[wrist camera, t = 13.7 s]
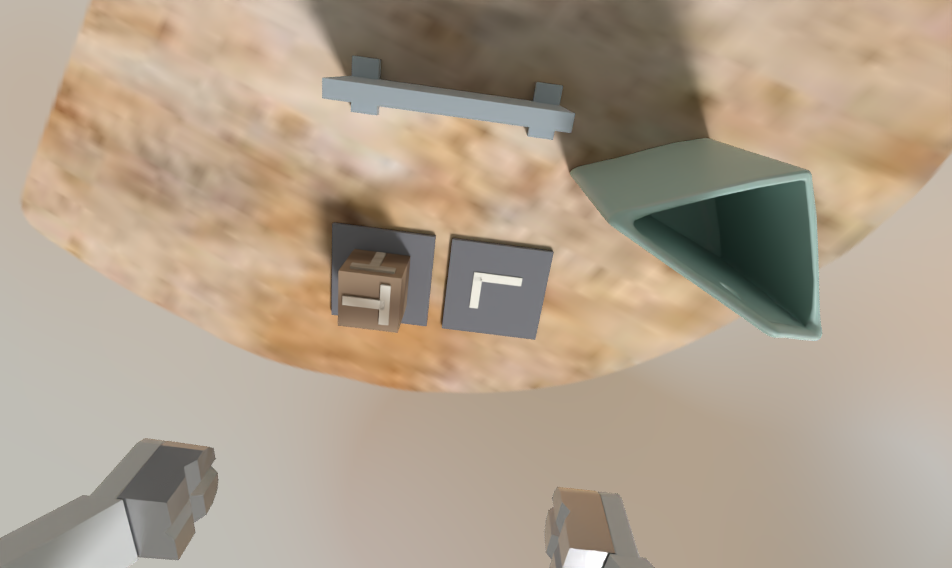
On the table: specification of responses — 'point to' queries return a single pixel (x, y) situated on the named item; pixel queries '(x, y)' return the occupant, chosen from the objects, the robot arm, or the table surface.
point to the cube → (373, 290)
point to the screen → (449, 100)
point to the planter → (721, 226)
